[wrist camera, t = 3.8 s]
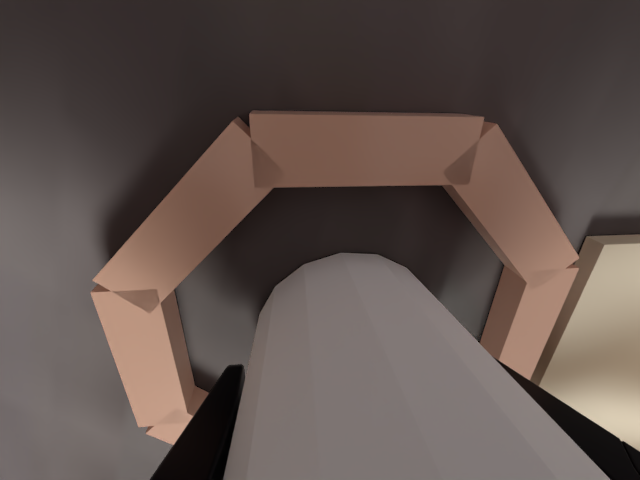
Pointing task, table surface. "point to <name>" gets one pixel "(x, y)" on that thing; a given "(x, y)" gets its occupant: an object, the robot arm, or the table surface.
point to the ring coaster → (327, 171)
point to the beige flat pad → (599, 338)
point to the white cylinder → (384, 389)
